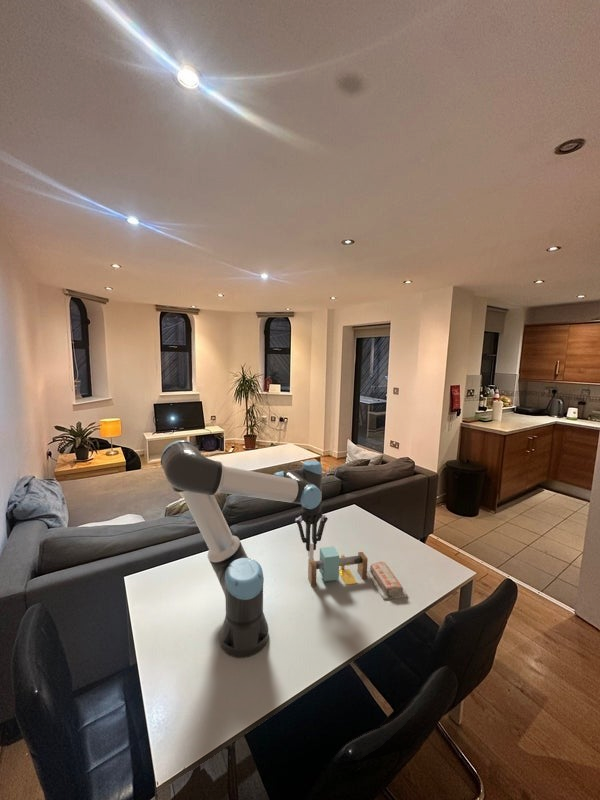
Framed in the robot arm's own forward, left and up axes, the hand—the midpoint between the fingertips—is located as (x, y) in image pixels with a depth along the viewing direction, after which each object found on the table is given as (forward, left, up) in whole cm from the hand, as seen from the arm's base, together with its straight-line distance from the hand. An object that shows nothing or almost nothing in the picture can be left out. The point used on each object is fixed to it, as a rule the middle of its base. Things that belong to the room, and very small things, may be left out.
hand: (310, 557), depth 130 cm
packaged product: (-7, -29, -11) cm, 32 cm away
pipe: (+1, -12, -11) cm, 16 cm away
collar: (0, -8, -8) cm, 11 cm away
